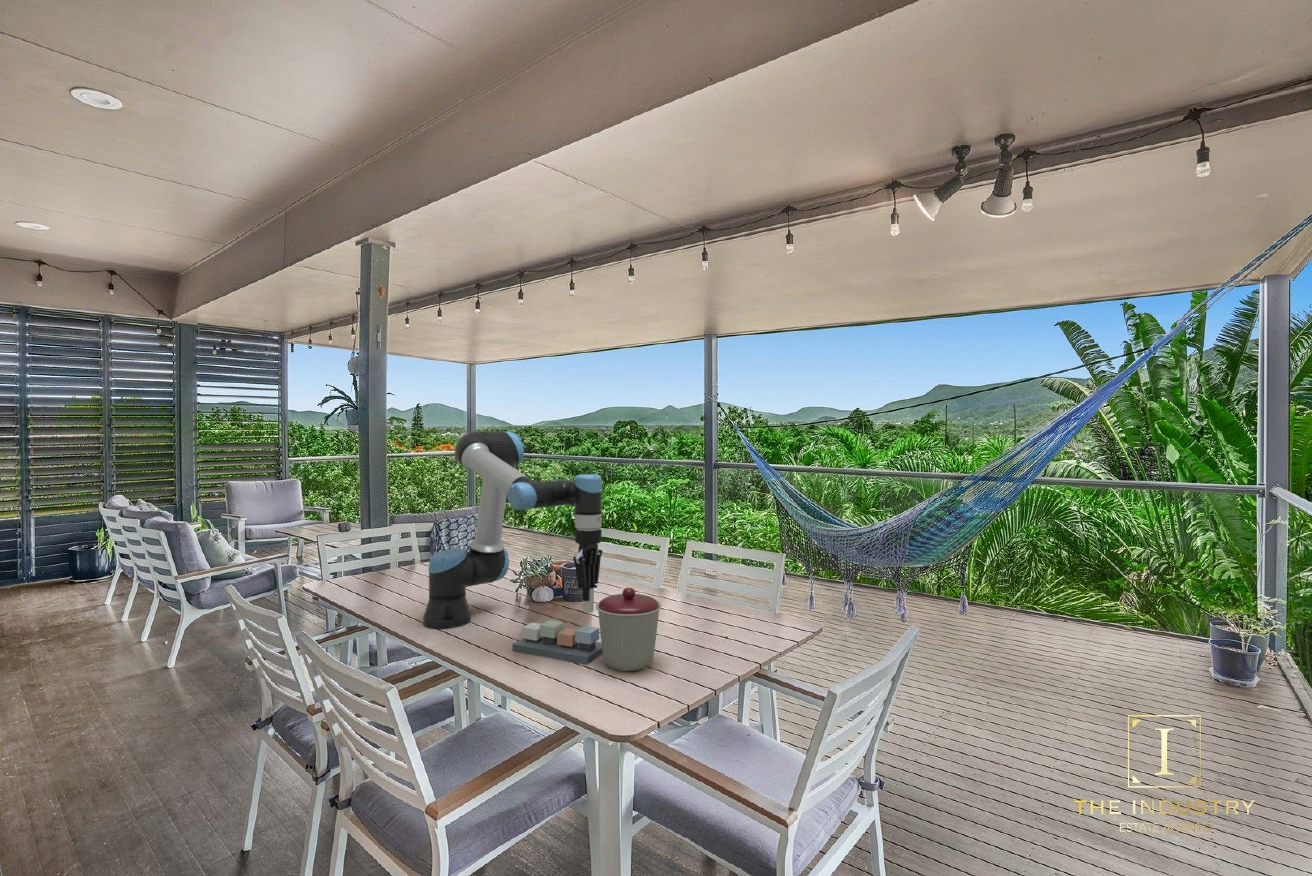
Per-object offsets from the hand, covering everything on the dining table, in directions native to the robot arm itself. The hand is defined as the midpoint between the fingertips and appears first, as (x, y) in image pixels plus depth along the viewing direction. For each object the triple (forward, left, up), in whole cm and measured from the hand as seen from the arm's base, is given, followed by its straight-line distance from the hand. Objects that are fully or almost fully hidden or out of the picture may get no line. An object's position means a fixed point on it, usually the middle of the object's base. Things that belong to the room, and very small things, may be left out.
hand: (588, 611), depth 170 cm
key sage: (-12, 0, -8) cm, 15 cm away
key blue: (0, 0, -8) cm, 8 cm away
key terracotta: (-6, 0, -10) cm, 12 cm away
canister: (+13, -1, -13) cm, 19 cm away
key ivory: (-18, 0, -10) cm, 21 cm away
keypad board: (-9, 0, -13) cm, 16 cm away
